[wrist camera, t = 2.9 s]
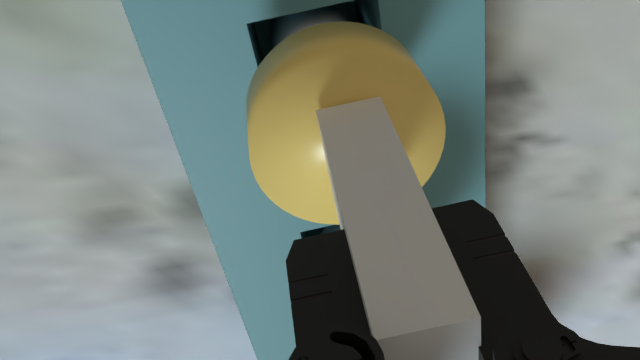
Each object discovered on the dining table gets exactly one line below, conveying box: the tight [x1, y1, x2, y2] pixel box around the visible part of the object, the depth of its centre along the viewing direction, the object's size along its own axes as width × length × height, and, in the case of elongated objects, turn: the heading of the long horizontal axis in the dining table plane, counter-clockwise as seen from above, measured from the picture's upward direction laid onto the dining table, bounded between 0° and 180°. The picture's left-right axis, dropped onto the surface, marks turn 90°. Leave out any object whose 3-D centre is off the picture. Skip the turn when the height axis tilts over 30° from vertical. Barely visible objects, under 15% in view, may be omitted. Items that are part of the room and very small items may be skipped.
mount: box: [121, 0, 486, 360], centre depth 25 cm, size 10×26×6 cm, turn 10°
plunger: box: [246, 3, 446, 225], centre depth 17 cm, size 5×5×8 cm
